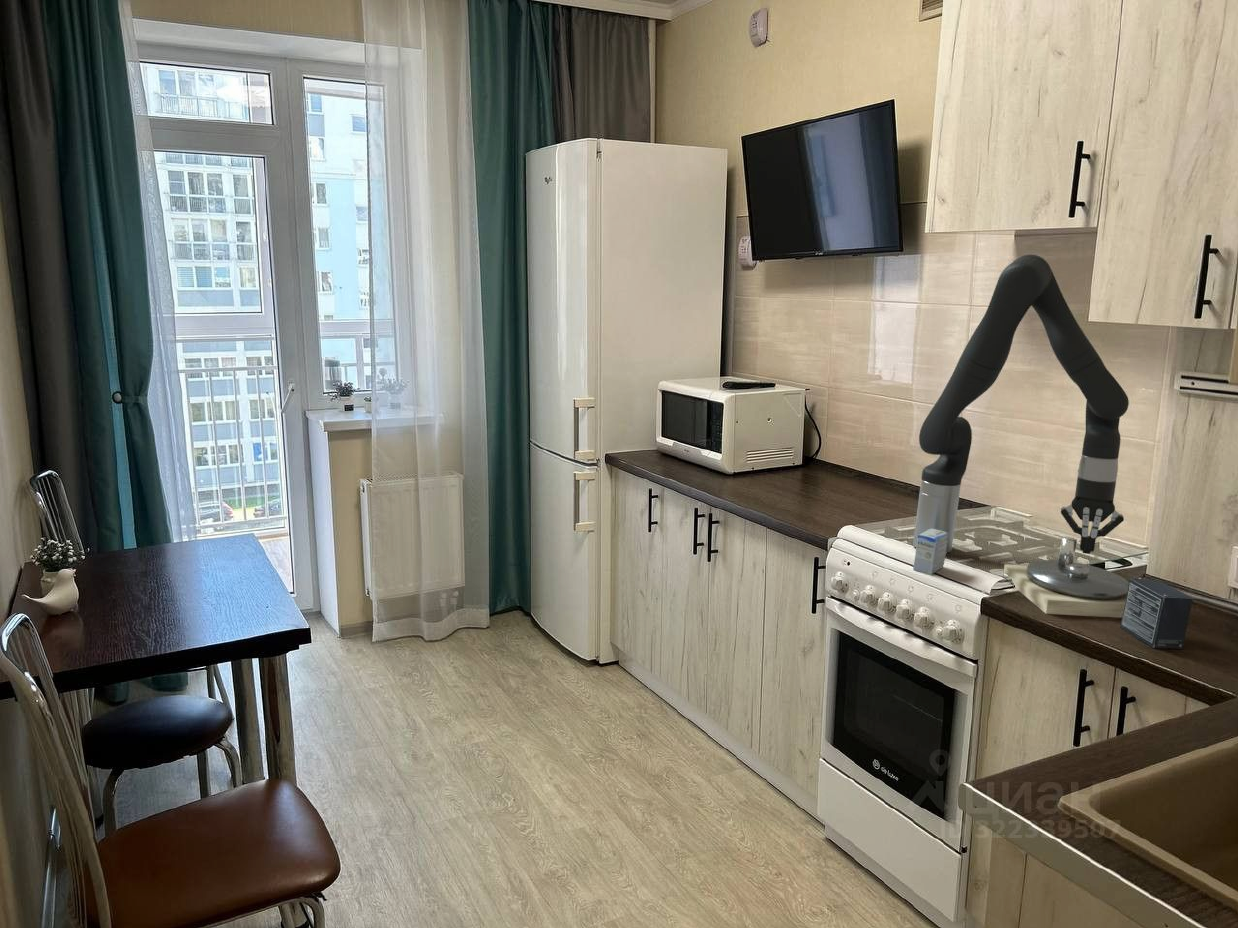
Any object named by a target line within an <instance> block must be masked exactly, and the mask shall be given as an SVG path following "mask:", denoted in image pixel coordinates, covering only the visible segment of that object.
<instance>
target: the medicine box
mask: <svg viewBox="0 0 1238 928" xmlns="http://www.w3.org/2000/svg"><path fill="white" fill-rule="evenodd" d="M948 534H949V533H947V532H944V531H941V530H936V529H929V530H927V531H925V532H923V533H921V534H920V535H918V539H917V546H916V548H915V555H914V560H913V571H915V572H919V573H922V574H927V575H933V574H934V573H936V572H938V571H939V570H940V569H942V568H943V567H944V566H945V559H946V554H947V553H946V548H947V542H948ZM943 565H944V566H943Z"/></svg>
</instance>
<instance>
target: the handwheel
mask: <svg viewBox="0 0 1238 928" xmlns="http://www.w3.org/2000/svg"><path fill="white" fill-rule="evenodd" d="M1060 542H1061V543H1060V547H1059V554H1058V560H1054V559H1053V560H1052V559H1047V560H1046V559H1045V560H1044V559H1043V560H1037V561H1032V562H1030V563H1028V564H1027V565H1026V566H1027V571H1026V575H1027V577H1028V578H1029V579H1030V580H1031V581H1033V582H1034V583H1036V584H1038V585H1040V586H1042V587H1045V588H1047V589H1050V590H1053V591H1056V592H1060V593H1064V594H1068V595H1072V596H1078V597H1084V598H1092V599H1118V598H1123V597H1125V596H1127V592H1128V586H1129V580H1127V579H1126V578H1125V577H1123V576H1121V575H1119V574H1116V573H1115V572H1113V571H1109V570H1107V569H1104V568H1100V567H1097V566H1094V565H1089V564H1084V563H1079V562H1075V561H1074V559H1075V554H1076V553H1075V552H1076V548H1077V544H1078V543H1077V542H1078V539H1077V538H1075V537H1070V536H1062V537H1061V541H1060Z"/></svg>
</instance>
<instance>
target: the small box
mask: <svg viewBox="0 0 1238 928" xmlns="http://www.w3.org/2000/svg"><path fill="white" fill-rule="evenodd" d="M1128 582H1129V586H1128V592H1127V597H1126V602H1125V607H1124V612H1123V617H1122V618H1121V621H1120V626H1119V627H1120V628H1121V629H1122V630H1124V631H1125V632H1127V633H1128V634H1130V635H1132V636H1133V637H1135V638H1136V639H1138V640H1139V641H1141V642H1142V643H1144V644H1146V645H1148V646H1149V647H1151V648H1152V649H1168V648H1170V649H1171V650H1175V649H1176V650H1182V649H1183V648H1184V643H1185V638H1186V633H1187V629H1188V625H1189V619H1190V614H1191V610H1192V605H1193V602H1194V597H1192V596H1190V595H1188V594H1187V593H1184V592H1183V591H1181V590H1178V589H1176V588H1174V587H1173V586H1171V585H1169V584H1166V583H1165V582H1163V581H1161V580H1159V579H1150V578H1136V577H1135V578H1132V577H1131V578H1129V579H1128Z"/></svg>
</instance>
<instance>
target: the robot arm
mask: <svg viewBox="0 0 1238 928" xmlns="http://www.w3.org/2000/svg"><path fill="white" fill-rule="evenodd" d="M1031 307H1032V308H1033V309H1034V311H1035V312H1036V313H1037V315H1038V317H1039V319H1040V321H1041V323H1042V325H1043V327H1044V330H1045V332H1046V335H1047V338H1048V341H1049V344H1050V347H1051V349H1052V351H1053V353H1054V355H1055V357H1056V359H1057V361H1058V362H1059V363H1060V365H1061V367H1062V368H1063V370H1064V372H1066V374H1067V375H1068V377H1069V378H1070V380H1071V381H1073V383H1074V384H1075V385H1076V386H1077V387H1078V388H1079V390H1080V392H1081V393H1082V394H1083V396H1084V398H1085V399H1086V403H1085V404H1086V405H1085V434H1084V438H1083V443H1082V450H1081V456H1080V457H1081V458H1080V460H1079V464H1078V465H1079V466H1078V468H1077V469H1078V470H1077V479H1076V486H1075V493H1074V498H1073V499H1072V500H1071V504H1069V505H1067V506H1063V507H1061V508H1060V514H1061V515H1062V517H1063V518H1064V520H1065V521H1066V523H1067V524H1068V525H1069V527H1070V529H1071V530H1072V531H1073V533H1075V534H1078V535H1080V542H1079V549H1080V551H1082V554H1088V555H1090V554H1091V552H1092V553H1093V552H1094V551H1095V546H1096V540H1097V538H1100V537H1101V538H1102V537H1103V538H1105V536H1107V535H1108V534H1110V533H1111V532H1112V531H1113V530H1115V529H1116V528H1117V527H1118V526H1119V525H1120V524H1121V523H1123V522H1124V520H1125V519H1124V515H1123V514H1121V513H1119V512H1118V511H1117V510H1116V506H1115V504H1114V501H1115V500H1114V499H1115V494H1116V493H1115V492H1116V486H1117V479H1118V478H1117V477H1118V472H1119V471H1118V470H1119V455H1120V448H1121V439H1122V438H1121V434H1120V429H1119V426H1120V419H1121V417H1122V416H1124V415H1125V414H1126V413H1127V411H1128V408H1129V403H1130V401H1129V397H1128V395H1127V393H1126V392H1125V390H1124V388H1123V387H1122V386H1121V385H1120V383H1119V382H1118V381H1117V380H1116V378H1115V377H1114V376H1113V374H1112V373H1111V372H1110V371H1109V370H1108V368H1107V367H1106V366H1105V364H1104V361H1103V360H1102V358H1101V357H1100V355H1099V354H1098V352H1097V350H1096V349H1095V347H1094V346H1093V345H1092V343H1091V342H1090V340H1089V339H1088V337H1087V335H1086V334H1085V333H1084V331H1083V330H1082V328H1081V326H1080V324H1079V323H1078V321H1077V319H1076V318H1075V316H1074V314H1073V312H1072V310H1071V308H1070V307H1069V305H1068V303H1067V302H1066V299H1065V297H1064V295H1063V293H1062V291H1061V289H1060V287H1059V284H1058V282H1057V279H1056V277H1055V274H1054V272H1053V270H1052V268H1051V265H1049V262H1048V261H1047V260H1045V259H1044V258H1043V257H1041V256H1039V255H1036V254H1026V255H1022V256H1019V257H1018V258H1016V259H1015V260H1013V261H1012V262H1011V263H1009V264H1008V265H1006V267H1005V268H1004V269H1003V270H1002V271H1001V273H1000V275H999V277H998V279H997V282H996V285H995V287H994V290H993V293H992V296H991V298H990V301H989V304H988V306H987V309H986V312H985V314H984V316H983V317H982V319H981V321H980V322H979V323H978V325H977V327H976V328H975V330H974V331H973V333H972V335H971V337H970V338H969V341H968V342H967V344H966V345H965V347H964V349H963V351H962V353H961V355H960V357H959V360H958V361H957V364H956V366H955V368H954V370H953V372H952V374H951V376H950V377H949V380H948V381H947V384H946V385H945V387H944V389H943V391H942V392H941V395H940V396H939V398H938V399H937V401H936V402H935V404H934V406H932V408H931V410H930V411H929V413H928V414H927V416H926V417H925V419H924V421H923V423H922V425H921V427H920V430H919V431H920V432H919V436H918V442H919V446H920V448H921V450H922V451H923V452H924V453H926V454H928V455H934V456H937V455H938V456H939V457H938V458H937V459H936V460H935V461H934V462H933V463H930V464H929V465H927V466H925V467H924V468H923V469H922V471H921V480H920V485H919V486H920V487H919V488H920V489H919V493H918V494H919V495H918V502H917V509H916V518H915V526H914V533H913V541H912V546H915V547H916V546H917V539H918V535H920V534H921V533H923V532H925V531H927V530H929V529H936V530H941V531H944V532H947V533H949V534H948V542H947V548H946V552H950V551H951V552H952V550H953V542H954V535H955V528H956V521H957V514H958V507H959V501H960V500H959V499H960V492H961V485H962V479H963V477H964V476H965V474H966V471H967V468H968V467H967V466H968V463H969V462H968V461H969V456H970V452H971V447H972V439H973V431H972V427H971V424H970V423H969V420H967V419H966V418H965V417H963V416H960V414H961V413H962V412H963V411H964V410H965V409H966V408H967V407H969V405H971V404H972V403H973V402H975V401H976V400H977V399H978V398H979V397H981V396H982V395H983V394H984V393H986V392H987V391H988V390H989V389H990V388H991V387H992V386H993V385H994V383H995V382H996V381H997V379H998V377H999V375H1000V373H1001V371H1002V369H1003V368H1004V366H1005V364H1006V362H1007V360H1008V357H1009V354H1010V351H1011V348H1012V345H1013V340H1014V336H1015V333H1016V331H1017V329H1018V327H1019V325H1020V323H1021V321H1023V319H1024V317H1025V315H1026V314H1027V312H1028V311H1029V310H1030V308H1031ZM1073 510H1074V511H1073ZM1073 512H1075V514H1076V515H1077V517H1078V518H1079V520H1081V526H1079V525H1078V524H1077V522H1076V520H1075V519H1074V517H1073V515H1074V513H1073ZM1109 517H1110V521H1109V522H1108V523H1106V524H1105V525H1104V526H1102V527H1101V528H1100V525H1101V524H1100V523H1102V522H1104V521H1105V520H1106V519H1108V518H1109ZM1090 522H1091V528H1090V531H1089V526H1090ZM951 552H950V553H951Z"/></svg>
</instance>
